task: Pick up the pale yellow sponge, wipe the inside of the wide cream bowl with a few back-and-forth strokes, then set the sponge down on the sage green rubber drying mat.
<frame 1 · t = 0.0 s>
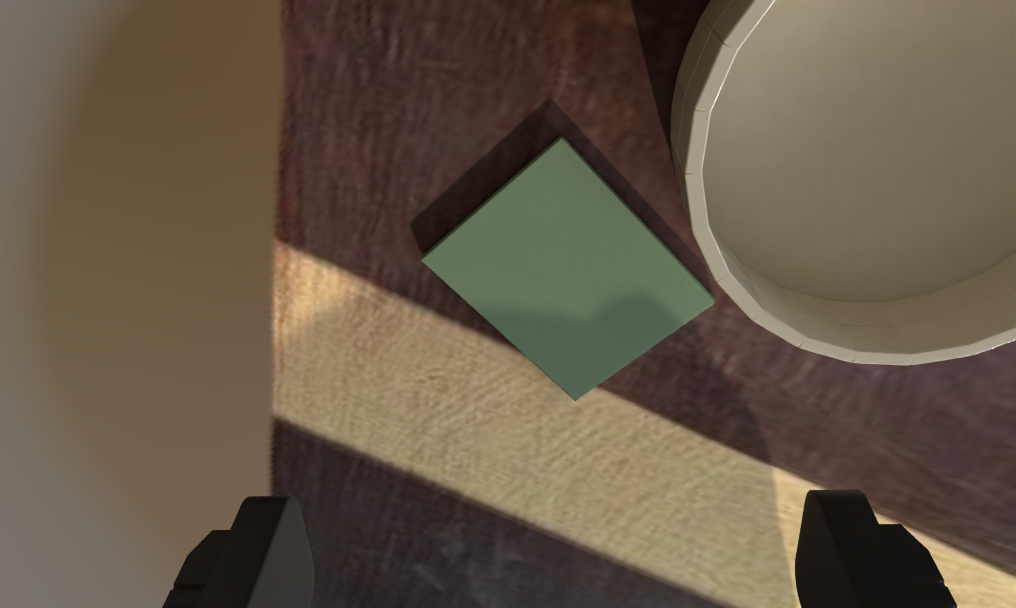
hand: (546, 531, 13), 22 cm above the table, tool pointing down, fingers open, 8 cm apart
wash bowl: (897, 111, 32), on the table
drying mat: (568, 276, 36), on the table
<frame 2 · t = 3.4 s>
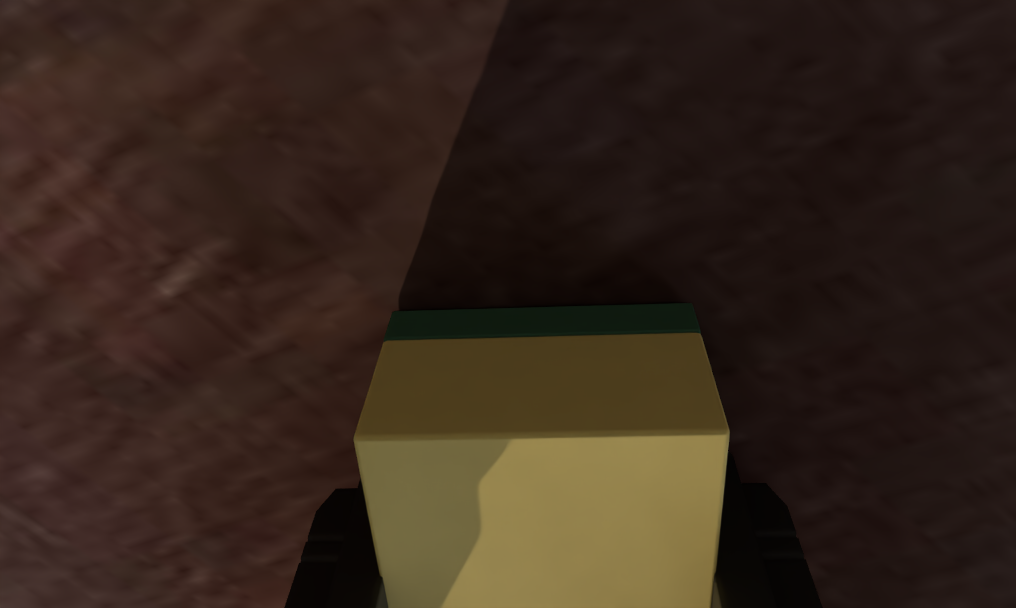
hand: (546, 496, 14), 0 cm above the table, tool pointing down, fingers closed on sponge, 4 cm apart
sponge: (548, 482, 14), on the table, touching gripper
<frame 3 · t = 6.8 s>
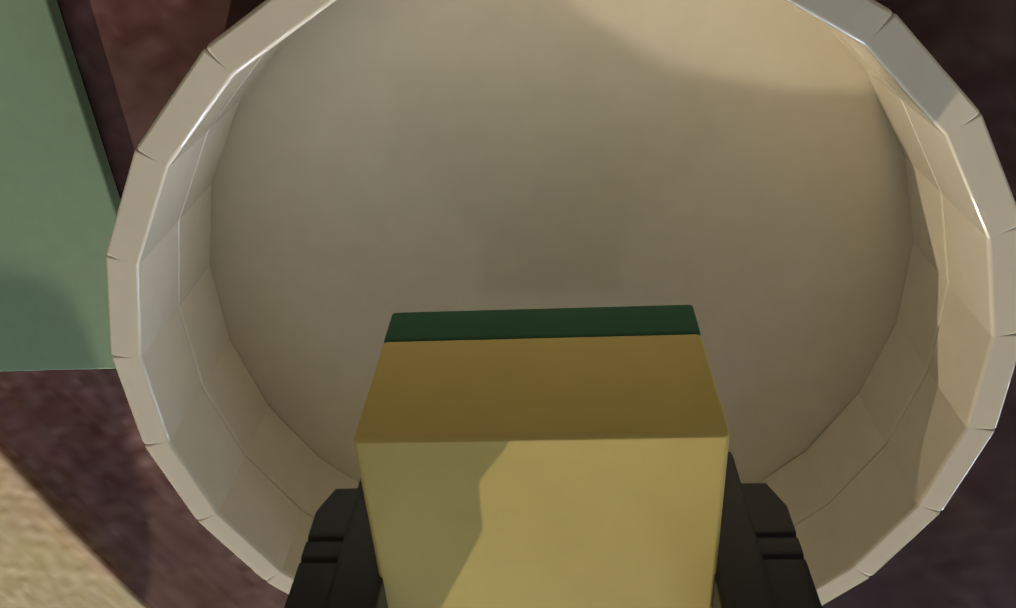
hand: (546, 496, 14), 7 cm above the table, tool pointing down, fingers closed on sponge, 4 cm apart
wash bowl: (552, 280, 20), on the table
sponge: (548, 483, 14), point 7 cm above the table, touching gripper
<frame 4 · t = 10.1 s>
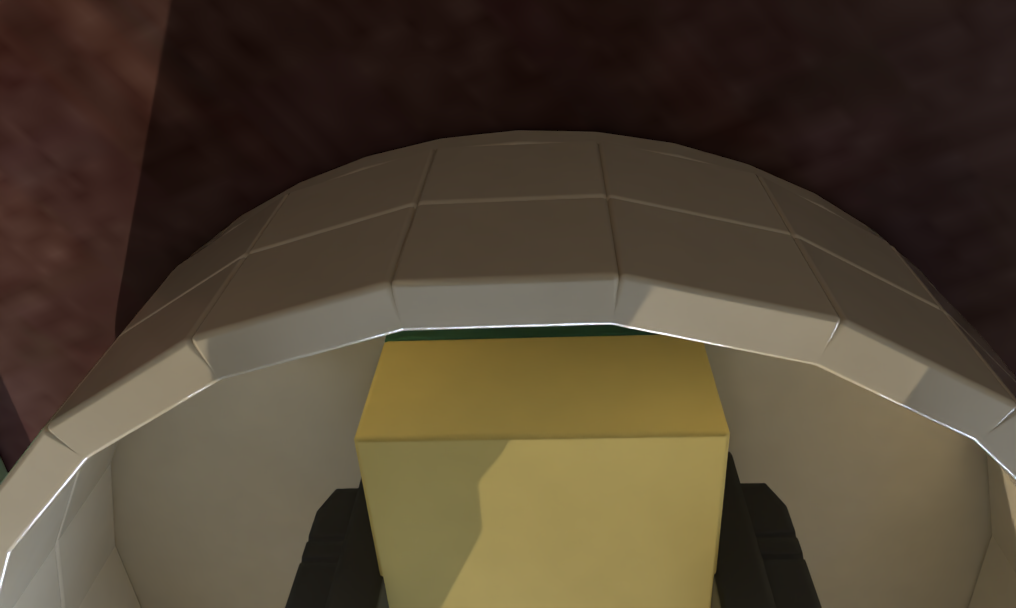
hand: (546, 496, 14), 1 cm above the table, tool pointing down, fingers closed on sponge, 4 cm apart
wash bowl: (541, 553, 16), on the table
sponge: (548, 482, 14), point 1 cm above the table, touching gripper
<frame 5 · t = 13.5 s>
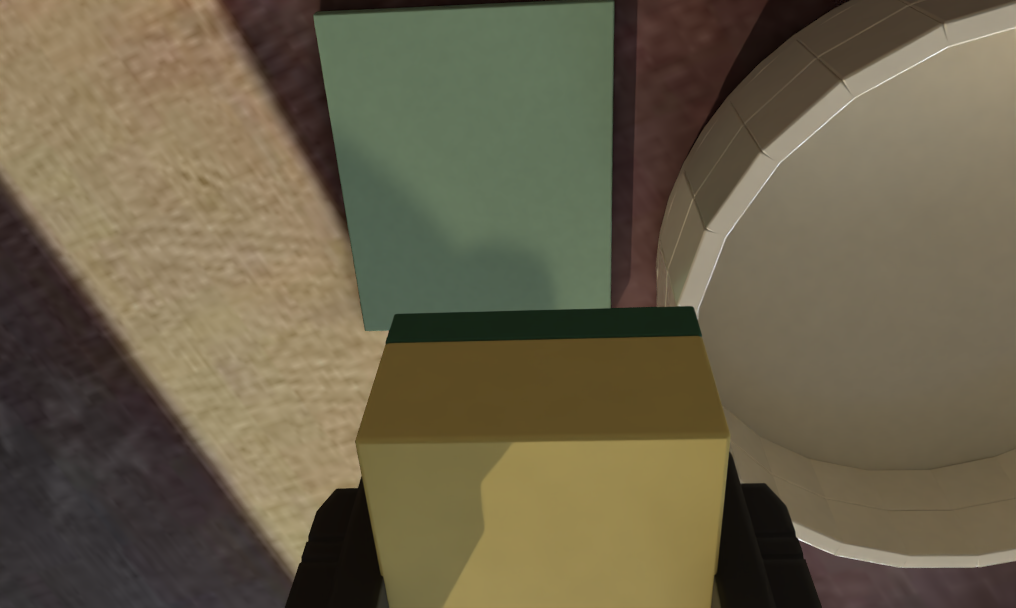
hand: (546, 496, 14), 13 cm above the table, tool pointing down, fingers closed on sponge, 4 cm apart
wash bowl: (939, 256, 25), on the table
drying mat: (476, 179, 25), on the table
sponge: (549, 484, 14), point 12 cm above the table, touching gripper
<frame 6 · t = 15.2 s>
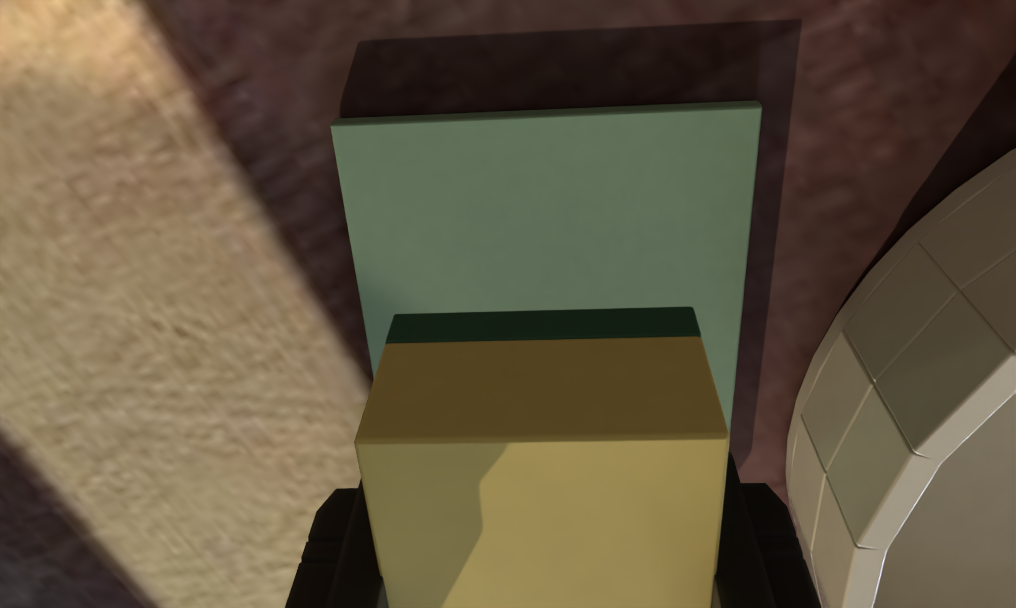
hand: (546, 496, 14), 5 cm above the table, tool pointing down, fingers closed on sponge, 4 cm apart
drying mat: (551, 332, 18), on the table
sponge: (549, 484, 14), point 5 cm above the table, touching gripper
when the fingers open (1 cm above the table, at t = 16.8 s): sponge stays where it is, resting on drying mat.
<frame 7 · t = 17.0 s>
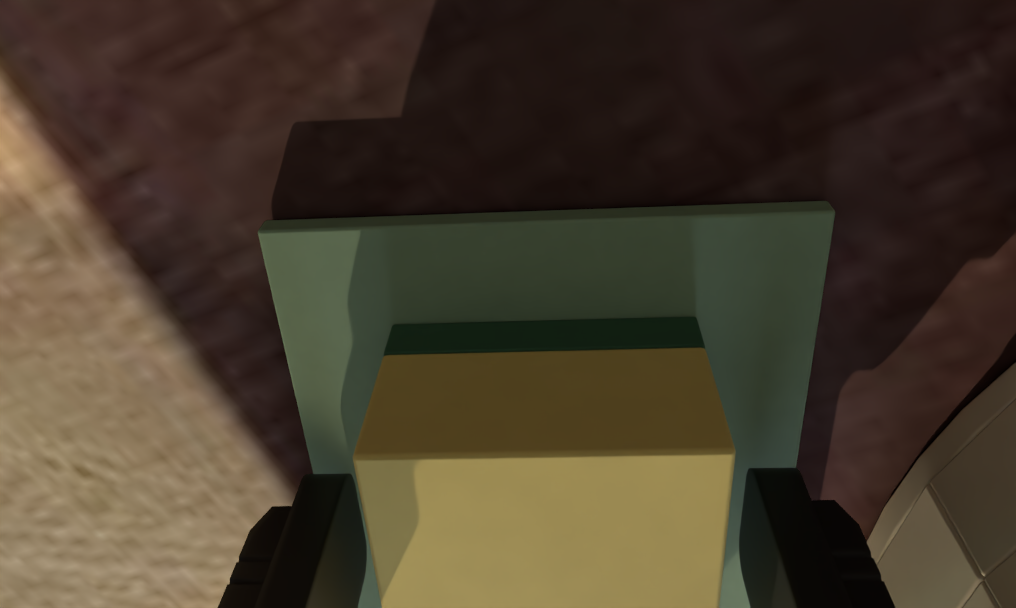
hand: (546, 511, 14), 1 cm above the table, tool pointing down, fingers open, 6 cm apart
drying mat: (550, 476, 14), on the table
sponge: (549, 496, 14), resting on drying mat
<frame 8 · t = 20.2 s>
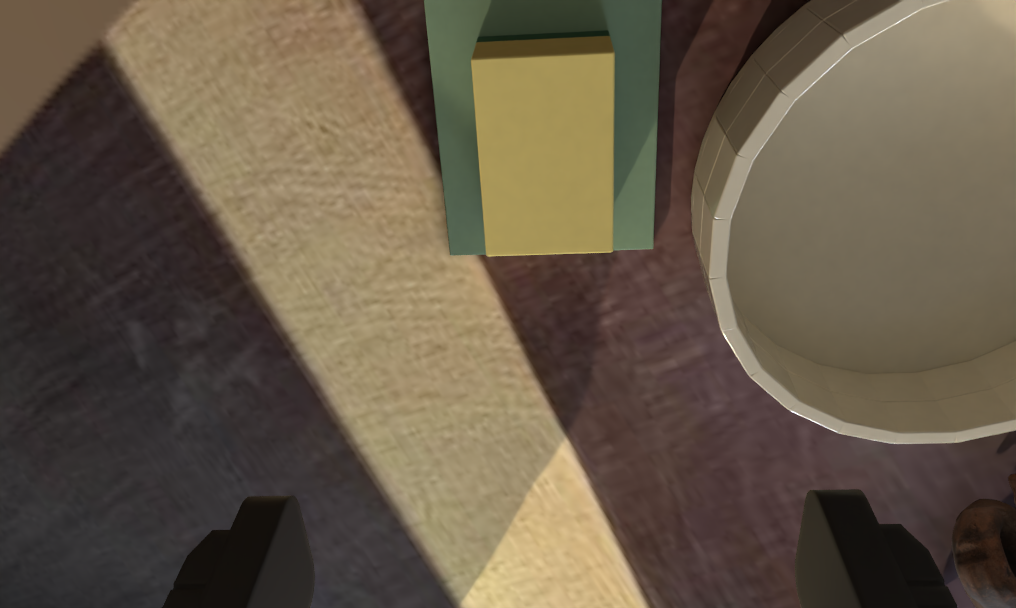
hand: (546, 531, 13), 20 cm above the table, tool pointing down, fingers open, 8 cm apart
wash bowl: (922, 188, 31), on the table
drying mat: (546, 126, 31), on the table
sponge: (546, 131, 30), resting on drying mat
pottery mug: (999, 529, 40), on the table
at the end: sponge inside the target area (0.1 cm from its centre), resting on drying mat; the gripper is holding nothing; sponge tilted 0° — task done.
